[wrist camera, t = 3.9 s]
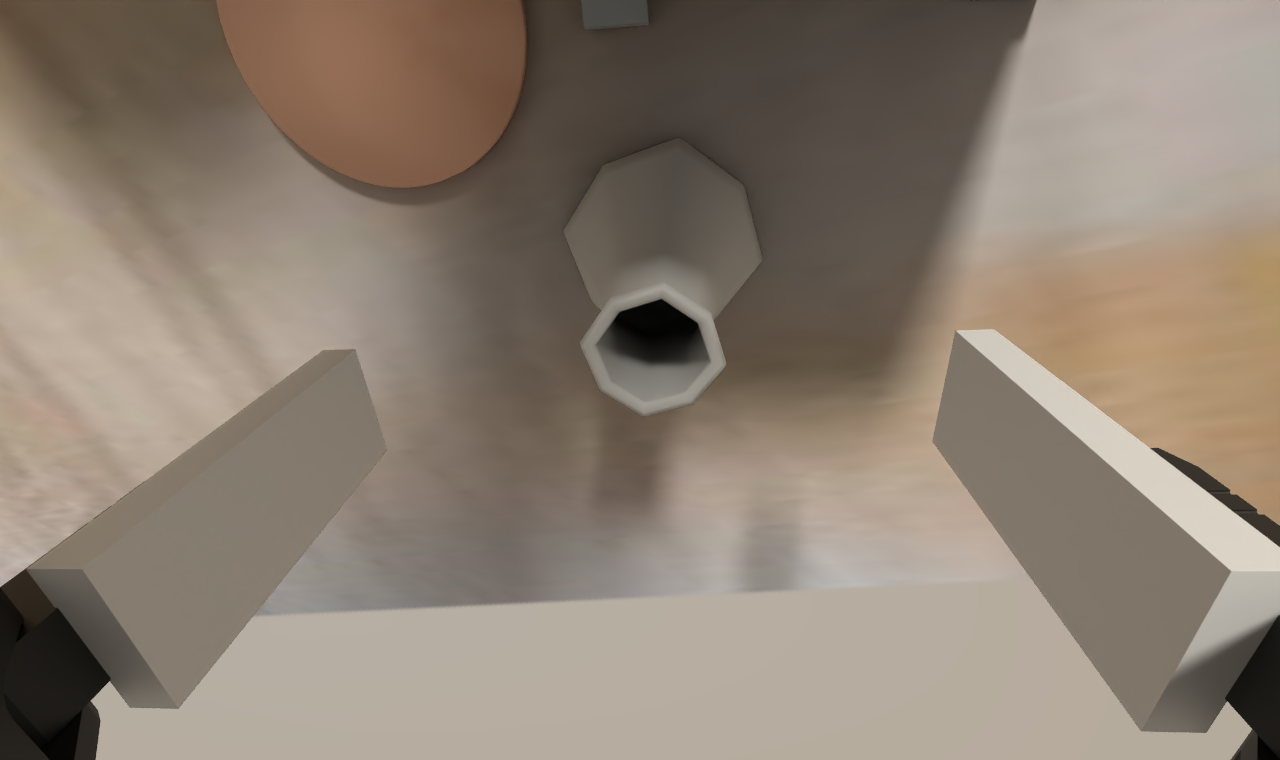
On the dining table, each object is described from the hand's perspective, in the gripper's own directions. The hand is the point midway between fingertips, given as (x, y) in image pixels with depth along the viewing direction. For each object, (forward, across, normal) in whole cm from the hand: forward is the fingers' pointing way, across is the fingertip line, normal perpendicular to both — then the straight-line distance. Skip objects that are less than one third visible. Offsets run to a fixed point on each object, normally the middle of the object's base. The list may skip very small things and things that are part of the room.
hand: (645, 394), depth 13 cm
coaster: (+10, -9, +8) cm, 16 cm away
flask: (+11, 0, +1) cm, 11 cm away
